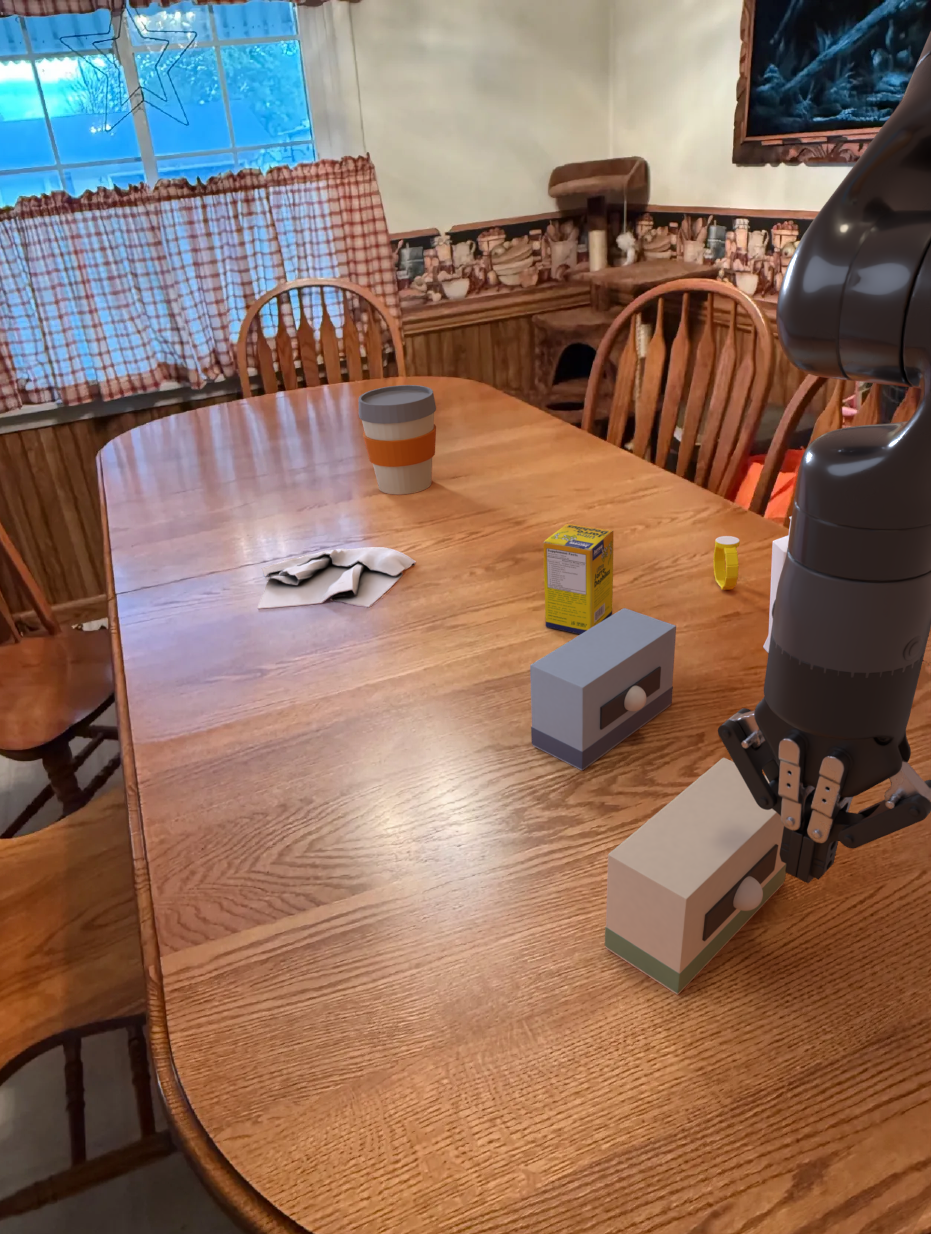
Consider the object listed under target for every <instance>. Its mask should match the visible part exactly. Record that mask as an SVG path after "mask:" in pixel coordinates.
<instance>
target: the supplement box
mask: <svg viewBox="0 0 931 1234" xmlns="http://www.w3.org/2000/svg"><path fill="white" fill-rule="evenodd" d="M542 547H543V549H542V550H543V552H542V553H543V583H544V584H543V587H544V589H543V590H544V617H545V627H546V628H550V629H554V630H559V631H563V632H568V633H573V634H578V635H580V634H582V633H584V632H585V631H587V630H589V629H590V628H592V627H594V626H595V625H597V624H599V623H600V622H602V621H603V620H605V619H607V618H608V617H610V616H612V615H613V597H614V596H613V594H614V589H613V588H614V530H613V529H606V528H600V527H593V526H586V525H579V524H574V523H568V522H567V523H566V524H564V525H563V526H562V527H561V528H559V529H558V530H557V531H555V532H554V533H552V534H551V535H550V536H548V537H547V538H546V539H545V540H544V541H543V543H542Z"/></svg>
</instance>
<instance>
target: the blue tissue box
mask: <svg viewBox="0 0 931 1234" xmlns="http://www.w3.org/2000/svg"><path fill="white" fill-rule="evenodd" d="M676 637H677V625H676V624H673V623H670V622H667V621H664V620H661V619H659V618H655V617H652V616H650V615H646V614H644V613H640V612H637V611H634V610H632V609H629V608H626V607H623V608H621V609H620V610H618V611H617V612H615V613H612V616H610V617H608V618H607V619H605V620H603V621H602V622H600V623H599V624H597V625H595V626H594V627H592V628H590V629H589V630H587V631H585V632H584V633H582V634H578V635H576V637H573V639H571V640H568V641H567V642H566V643H564V644H563V645H561V646H559V647H557V648H556V649H554V650H553V651H551V652H549V653H547V654H546V655H544V656H543V657H541V658H539V659H537V660H536V661H534V662H533V663H531V664H530V665H529V673H530V674H529V675H530V678H529V679H530V705H531V706H530V707H531V708H530V711H531V726H530V731H531V732H530V734H531V735H530V737H531V745H532V747H534V748H537V749H538V750H540V751H542V752H544V753H546V754H547V755H550V756H552V757H554V758H555V759H556V758H557V759H558V760H560V761H562V762H564V763H565V764H567V765H570V766H572V767H574V768H576V769H578V770H580V771H584V770H585V769H587V768H588V767H589V766H591V765H592V764H593V763H595V762H596V761H597V760H599V759H600V758H602V757H603V756H604V755H606V754H607V753H608V752H610V751H611V750H613V749H614V748H615V747H616V746H617V745H619V744H620V743H621V742H623V741H625V740H626V739H627V738H628V737H630V736H631V735H633V734H634V733H635V732H637V731H638V730H639V729H641V728H642V727H644V726H645V725H646V724H647V723H649V722H650V721H652V720H653V719H654V718H656V717H657V716H658V715H660V714H661V713H662V712H663V711H665V710H666V709H667V708H669V707H670V706H672V703H673V694H674V693H673V692H674V687H673V680H674V667H675V653H676V652H675V651H676V640H677V639H676Z"/></svg>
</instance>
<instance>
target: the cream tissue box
mask: <svg viewBox="0 0 931 1234" xmlns="http://www.w3.org/2000/svg"><path fill="white" fill-rule="evenodd" d="M764 776H765V778H766V780H767V781H768V783H770V782H769V780H768V779H767V777H766V775H765V774H764ZM783 829H784V825H783V824H782V822H781V816H780V815H779V814H778V813H777V812H776V811H774V810H773V809H770V810H765V809H762V808H761V807H759V806H758V804H757V803H756V801H755V799H754V798H753V796H752V794H751V792H750V790H749V789H748V787H747V785H746V783H745V781H744V780H743V778H742V776H741V774H740V772H739V771H738V769H737V767H736V765H735V763H734V762H733V760H732V759H731V760H730V759H728V758H726V757H722V758H721V759H720V760H718V761H717V762H716V763H715V764H714V765H712V766H711V767H710V768H709V769H708V770H706V771H705V772H704V773H703V774H701V775H700V776H699V777H698V778H697V779H696V780H695V781H693V782H692V783H690V785H688V787H686V788H685V789H684V790H683V791H681V792H680V793H679V794H678V795H676V796H675V797H674V798H673V799H672V800H671V801H669V802H668V803H667V804H665V806H664V807H662V808H661V809H660V810H658V812H656V813H655V814H654V815H652V816H651V817H650V818H649V819H648V820H647V821H645V822H644V823H643V824H642V825H641V826H640V827H639V828H637V829H636V830H635V831H634V832H633V833H632V834H630V835H629V836H628V837H627V838H626V839H624V840H622V842H621V843H620V844H618V845H617V846H616V847H615V848H614V849H613V850H611V851H610V852H609V853H608V854H607V875H606V876H607V877H606V909H605V910H606V913H605V927H604V947H605V949H606V950H608V951H609V952H611V953H613V954H614V955H616V956H617V957H618V958H620V959H622V960H623V961H625V962H626V963H628V964H629V965H630V966H632V967H634V968H635V969H637V970H638V971H640V972H641V973H643V974H644V975H646V976H647V977H649V978H651V979H652V980H654V981H655V982H657V983H658V984H660V985H661V986H663V987H664V988H666V989H667V990H669V991H670V992H671V993H673V994H675V995H677V996H678V995H679V994H680V993H681V992H682V991H683V990H684V989H685V988H686V987H687V986H688V985H689V984H690V983H691V982H692V981H693V979H695V978H696V976H697V975H698V974H699V973H700V972H701V971H702V970H704V968H705V967H706V966H707V965H708V964H709V963H710V962H711V961H712V960H713V958H715V956H717V954H718V953H719V952H720V951H722V949H723V948H724V947H725V946H727V944H728V943H729V942H730V941H731V940H732V938H734V937H735V935H737V933H738V932H739V931H740V930H741V929H742V928H744V926H745V925H746V924H747V923H748V922H749V921H750V919H752V918H753V916H754V915H755V914H756V913H757V912H759V910H760V909H761V908H762V907H763V906H764V905H765V904H766V902H768V901H769V899H770V898H771V897H772V896H773V895H774V894H775V893H776V892H777V891H778V890H779V889H780V888H781V887H782V886H783V885H784V884H785V882H786V876H787V873H786V872H785V869H786V863H784V862H782V861H781V858H780V854H779V853H780V848H781V841H782V835H783Z"/></svg>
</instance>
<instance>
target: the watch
mask: <svg viewBox="0 0 931 1234" xmlns="http://www.w3.org/2000/svg"><path fill="white" fill-rule="evenodd" d="M740 543H741V540H740V538H738V537H736V536H731V535H722V536H721V535H720V536H718V537H716V538H715V540H714V545H715V546H714V550H713V558H712V560H713V561H712V563H713V564H712V565H713V576H714V581H715V582H716V584H717V585H718V586H719V587H720V590H721V591H727V590H729V591H730V590H734V589H735V587H736V586H737V582H738V578H739V567H740V565H739V564H740V563H739V554H738V550H737V548H739V547H740Z"/></svg>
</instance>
